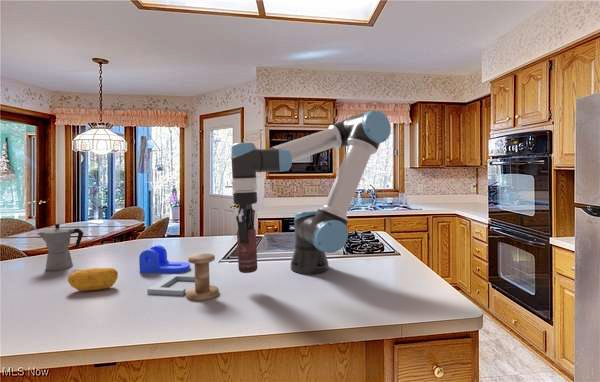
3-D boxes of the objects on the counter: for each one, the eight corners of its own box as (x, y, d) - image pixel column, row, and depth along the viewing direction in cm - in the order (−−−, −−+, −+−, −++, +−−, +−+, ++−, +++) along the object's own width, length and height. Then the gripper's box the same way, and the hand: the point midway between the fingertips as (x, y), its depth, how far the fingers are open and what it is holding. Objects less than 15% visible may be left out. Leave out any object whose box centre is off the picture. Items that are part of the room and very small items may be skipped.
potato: (77, 286, 112) (75, 266, 111) (121, 284, 114) (121, 264, 113) (65, 294, 105) (63, 273, 104) (113, 292, 107) (112, 271, 106)
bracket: (139, 272, 127) (138, 250, 126) (151, 266, 135) (150, 245, 134) (184, 273, 125) (184, 250, 125) (193, 267, 133) (192, 245, 133)
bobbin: (223, 289, 108) (222, 253, 107) (211, 301, 98) (210, 261, 98) (194, 288, 110) (193, 252, 109) (180, 300, 100) (178, 260, 99)
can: (254, 273, 103) (252, 230, 102) (235, 273, 105) (233, 230, 104) (260, 267, 109) (259, 226, 108) (242, 267, 111) (240, 226, 109)
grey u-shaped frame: (202, 279, 118) (202, 275, 118) (182, 295, 103) (182, 290, 103) (171, 278, 120) (171, 274, 120) (147, 293, 105) (147, 289, 105)
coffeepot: (35, 272, 127) (32, 227, 126) (43, 266, 135) (41, 223, 134) (82, 267, 133) (80, 224, 132) (87, 261, 141) (85, 220, 140)
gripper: (240, 189, 112) (243, 257, 114) (226, 193, 99) (230, 269, 101) (261, 189, 111) (264, 257, 113) (250, 193, 98) (253, 269, 100)
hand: (248, 262), depth 107 cm, fingers closed
